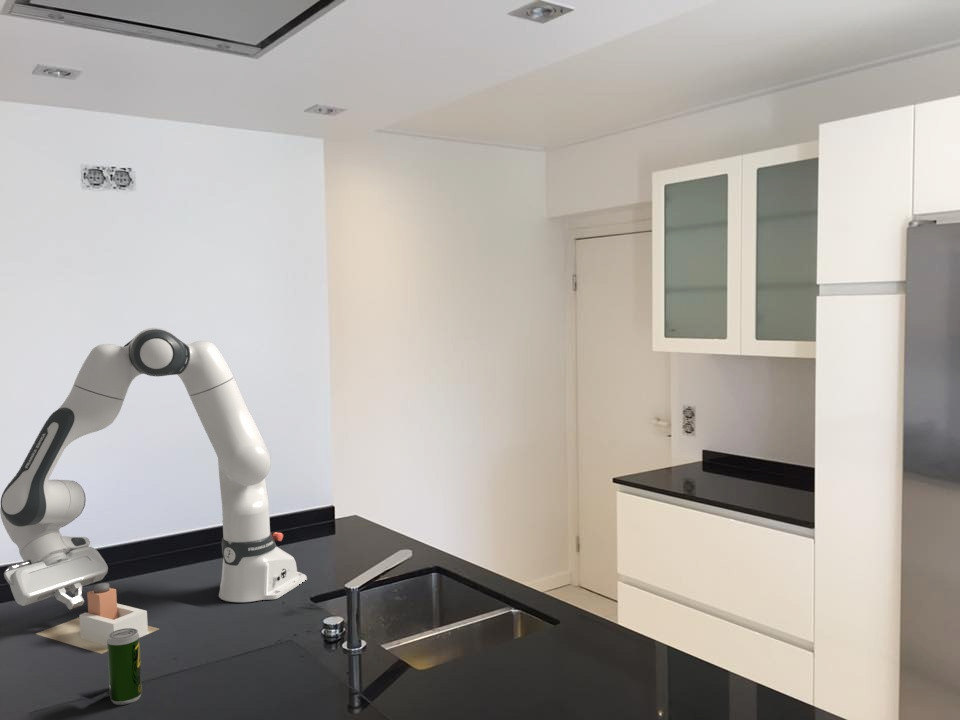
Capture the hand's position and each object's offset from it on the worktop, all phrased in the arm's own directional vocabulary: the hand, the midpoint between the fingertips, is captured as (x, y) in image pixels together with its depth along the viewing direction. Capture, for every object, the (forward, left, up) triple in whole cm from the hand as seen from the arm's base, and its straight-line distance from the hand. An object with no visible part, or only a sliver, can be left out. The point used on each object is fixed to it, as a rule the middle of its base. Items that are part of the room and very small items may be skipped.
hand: (77, 605), depth 176 cm
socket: (0, +11, -5) cm, 12 cm away
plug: (0, +8, -4) cm, 9 cm away
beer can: (+15, +35, -6) cm, 39 cm away
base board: (0, +6, -6) cm, 9 cm away
